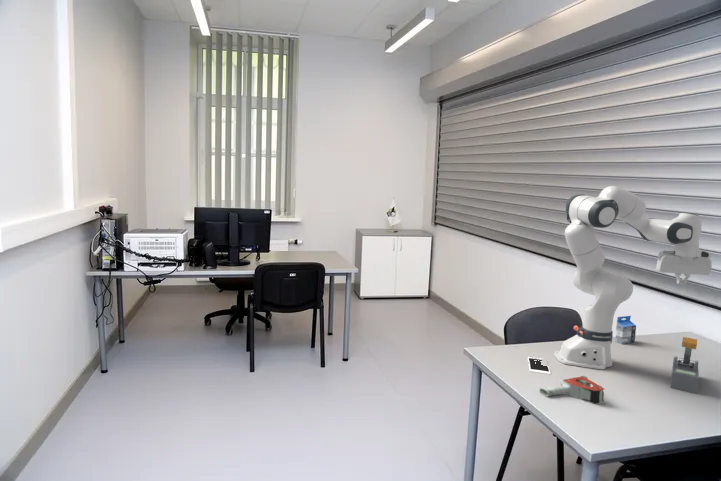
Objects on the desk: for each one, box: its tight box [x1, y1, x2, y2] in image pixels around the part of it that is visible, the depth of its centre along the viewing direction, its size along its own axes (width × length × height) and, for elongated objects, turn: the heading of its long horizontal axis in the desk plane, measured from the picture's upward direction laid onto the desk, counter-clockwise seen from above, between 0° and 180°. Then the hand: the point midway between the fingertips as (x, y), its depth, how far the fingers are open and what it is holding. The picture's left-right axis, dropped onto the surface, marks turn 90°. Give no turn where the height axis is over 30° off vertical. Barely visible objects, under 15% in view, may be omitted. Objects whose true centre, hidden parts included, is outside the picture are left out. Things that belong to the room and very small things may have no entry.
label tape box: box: [614, 315, 637, 345], centre depth 226 cm, size 9×4×12 cm, turn 111°
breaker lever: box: [678, 336, 698, 368], centre depth 178 cm, size 3×5×14 cm, turn 55°
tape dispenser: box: [539, 375, 605, 404], centre depth 167 cm, size 18×5×20 cm
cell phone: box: [527, 356, 551, 375], centre depth 193 cm, size 8×16×1 cm, turn 164°
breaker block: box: [670, 356, 700, 395], centre depth 181 cm, size 20×8×9 cm, turn 145°
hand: (681, 283), depth 199 cm, fingers closed
